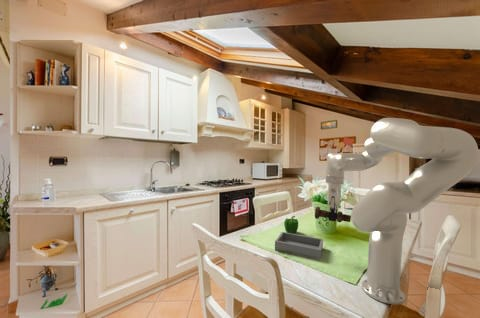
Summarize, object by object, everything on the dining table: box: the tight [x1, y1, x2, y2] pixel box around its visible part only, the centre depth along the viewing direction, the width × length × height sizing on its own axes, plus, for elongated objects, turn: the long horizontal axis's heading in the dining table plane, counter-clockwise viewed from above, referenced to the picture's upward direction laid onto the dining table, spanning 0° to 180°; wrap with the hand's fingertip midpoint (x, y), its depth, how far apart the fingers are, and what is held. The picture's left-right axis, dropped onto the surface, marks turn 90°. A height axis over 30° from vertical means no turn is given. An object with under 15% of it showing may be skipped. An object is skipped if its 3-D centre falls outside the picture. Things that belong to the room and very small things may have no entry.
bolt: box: [314, 206, 352, 223], centre depth 101 cm, size 6×5×15 cm
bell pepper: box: [283, 215, 299, 234], centre depth 131 cm, size 8×8×10 cm
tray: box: [274, 231, 324, 261], centre depth 109 cm, size 14×21×4 cm, turn 65°
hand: (332, 218), depth 102 cm, fingers closed on bolt, 5 cm apart
